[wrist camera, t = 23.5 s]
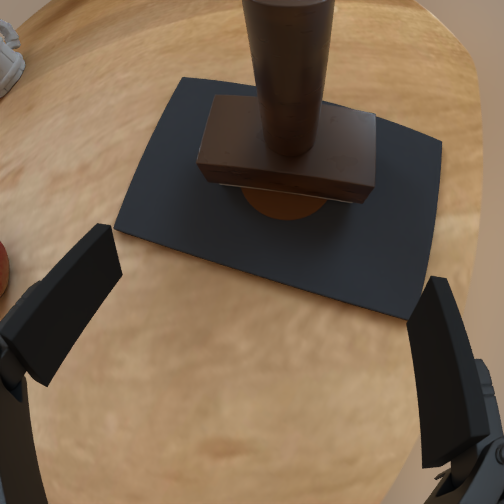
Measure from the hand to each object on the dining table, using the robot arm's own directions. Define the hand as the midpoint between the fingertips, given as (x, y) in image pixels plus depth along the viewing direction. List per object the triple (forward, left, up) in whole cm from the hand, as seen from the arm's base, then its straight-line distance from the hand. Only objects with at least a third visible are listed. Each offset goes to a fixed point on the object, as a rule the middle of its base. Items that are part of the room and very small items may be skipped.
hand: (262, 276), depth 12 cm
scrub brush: (+1, -8, -7) cm, 11 cm away
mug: (+44, -18, -8) cm, 48 cm away
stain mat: (+1, -7, -8) cm, 11 cm away
